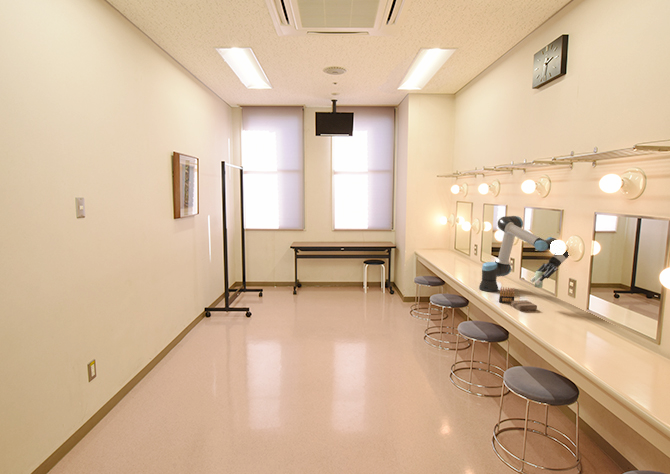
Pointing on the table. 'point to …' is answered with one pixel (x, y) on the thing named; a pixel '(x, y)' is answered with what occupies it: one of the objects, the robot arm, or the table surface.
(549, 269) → the robot arm
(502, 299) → the ammunition clip
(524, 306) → the walnut plinth
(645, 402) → the table surface
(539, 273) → the sage cylinder
